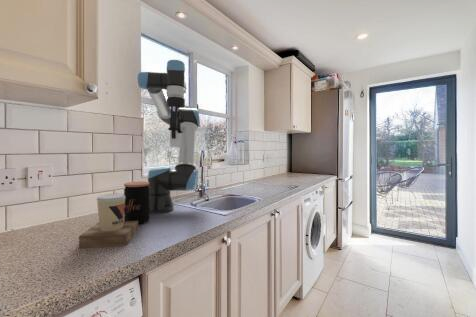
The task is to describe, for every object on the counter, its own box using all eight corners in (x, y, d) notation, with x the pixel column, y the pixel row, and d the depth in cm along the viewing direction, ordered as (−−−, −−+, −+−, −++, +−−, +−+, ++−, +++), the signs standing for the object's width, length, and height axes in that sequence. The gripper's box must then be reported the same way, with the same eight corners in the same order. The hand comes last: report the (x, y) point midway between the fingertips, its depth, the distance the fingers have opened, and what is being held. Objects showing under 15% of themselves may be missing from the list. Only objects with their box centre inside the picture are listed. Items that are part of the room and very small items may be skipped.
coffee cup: (113, 233, 80) (113, 199, 80) (90, 230, 82) (90, 197, 82) (131, 224, 89) (130, 194, 89) (110, 222, 91) (110, 193, 91)
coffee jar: (119, 223, 103) (118, 183, 102) (138, 217, 112) (138, 180, 112) (135, 227, 98) (135, 185, 97) (154, 220, 108) (154, 182, 107)
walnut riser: (99, 231, 92) (99, 222, 92) (138, 230, 94) (138, 220, 94) (79, 247, 77) (78, 236, 77) (126, 245, 80) (126, 234, 79)
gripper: (182, 91, 87) (182, 146, 88) (186, 103, 112) (186, 147, 112) (161, 90, 86) (161, 146, 87) (170, 103, 110) (170, 147, 111)
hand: (175, 147), depth 100 cm, fingers open, 13 cm apart
